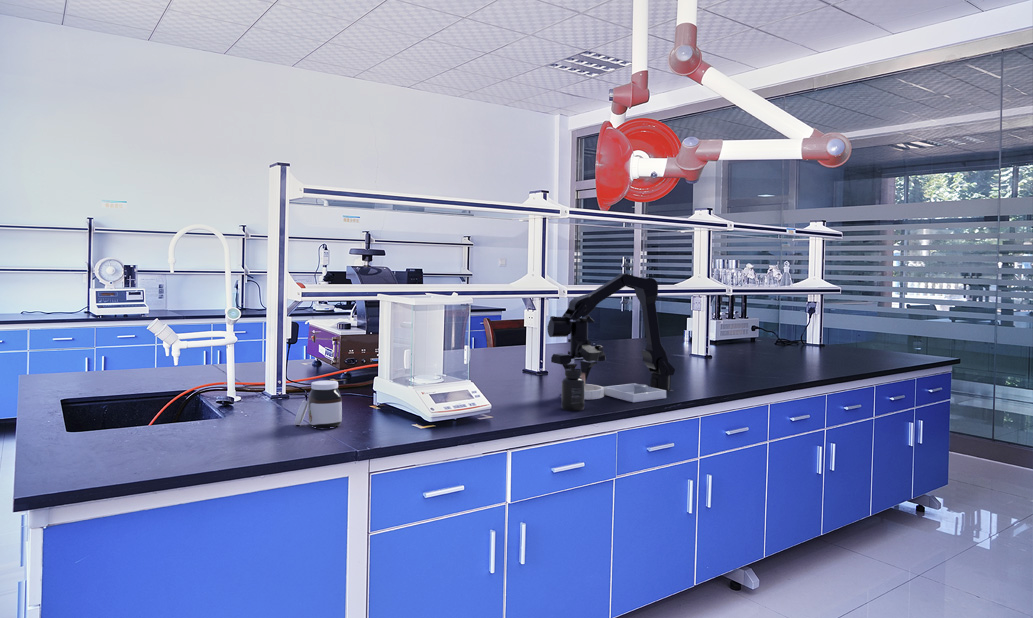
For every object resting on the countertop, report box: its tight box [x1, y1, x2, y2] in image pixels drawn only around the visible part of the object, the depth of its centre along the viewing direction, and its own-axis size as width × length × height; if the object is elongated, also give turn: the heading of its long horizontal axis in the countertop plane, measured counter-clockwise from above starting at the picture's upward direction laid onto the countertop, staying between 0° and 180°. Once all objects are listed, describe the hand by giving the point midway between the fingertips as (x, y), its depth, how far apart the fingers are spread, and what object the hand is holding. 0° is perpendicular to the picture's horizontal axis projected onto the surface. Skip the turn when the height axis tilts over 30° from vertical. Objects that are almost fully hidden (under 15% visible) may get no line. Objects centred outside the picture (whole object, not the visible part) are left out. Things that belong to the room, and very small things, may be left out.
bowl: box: [584, 383, 605, 400], centre depth 218 cm, size 13×13×3 cm
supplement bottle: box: [561, 368, 585, 412], centre depth 199 cm, size 7×7×12 cm
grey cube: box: [634, 383, 649, 394], centre depth 215 cm, size 4×4×4 cm
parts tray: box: [602, 383, 667, 403], centre depth 218 cm, size 14×15×3 cm
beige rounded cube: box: [580, 372, 586, 386], centre depth 220 cm, size 4×4×4 cm
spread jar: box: [293, 379, 343, 428], centre depth 174 cm, size 12×11×12 cm
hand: (578, 383), depth 220 cm, fingers closed on beige rounded cube, 4 cm apart
